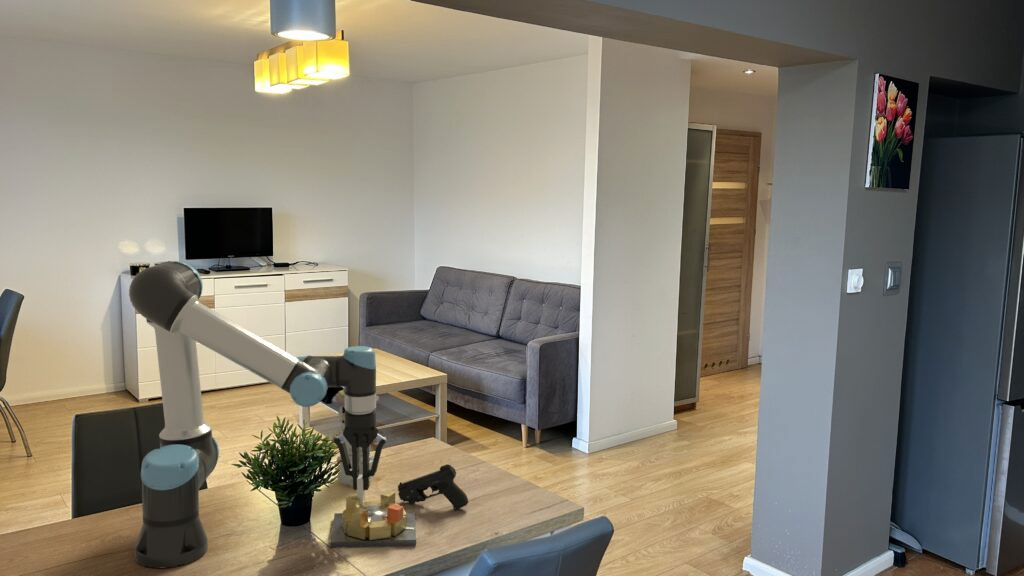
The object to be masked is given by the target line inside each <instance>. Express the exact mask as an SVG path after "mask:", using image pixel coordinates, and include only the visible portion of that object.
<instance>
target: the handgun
mask: <svg viewBox="0 0 1024 576" xmlns="http://www.w3.org/2000/svg"><path fill="white" fill-rule="evenodd" d="M456 476H457V472H456V469H455V468H454V466H452V465H451V464H448V463H447V464H445V465H441V466H440V468H439V469H438V470H437V471H434V472H430V473H428V474H425V475H422V476H418V477H416V478H413V479H410V480H408V481H405V482H399V484H398V485H397V489H398V490H397V491H398V492H397V494H398V497H399V499H400V500H401V501H403V502H408V504H409V505H410V506H411V505H414V504H415V503H420V502H425V501H426V499H429V498H432V497H435V496H436V497H437V496H438V495H443V496H444V497H445V498H446V499H447V500H448V501H449V502H450V503H451V506H452V508H453V509H454V511H457V510H459V509H461V508H463V507H466V506H467V505H468V504H469V499H468V496H467V494H466V493H465V491H464V490H462V489H461V488H460V487H459V486H458V484H457V483H455V482H454V480H455V478H456ZM429 488H430V489H431V492H432V493H431V494H429V495H427V494H425V491H426V490H428V489H429ZM437 491H438V492H437ZM434 492H436V493H434Z"/></svg>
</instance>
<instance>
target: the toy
mask: <svg viewBox="0 0 1024 576" xmlns="http://www.w3.org/2000/svg"><path fill="white" fill-rule="evenodd" d="M380 401H381V396H379V395H377V394H376V405H377V404H380ZM331 404H332V405H336V406H339V407H338V408H339V410H338V412H337V415H339V417H338V420H339V421H338V422H339V423H340V428H341V430H340V431H338V433H336V434H335V435H334V436H332V438H331V439H330V440H331V441H332V442H333V443H335V442H334V439H335V438H336V436H337V435H341V434H343V431H344V429H345V412H346V410H345V388H344V387H342V390H339V391H338V393H336V394H335V395H334V396H333V397H332V399H331ZM345 444H346V448H347V452H348V455H349V459H350V463H351V467H352V446H351V445H350V444H349V442H348V441H347V440H346V438H345ZM377 445H378V444H377V443H376V439H374V441H373V442H372V443H371V445H370V448H373V451H374V452H375V451H376V448H377ZM340 459H341V456H340V454H339V455H338V456H337V458H336V460H335V462H334V464H335V463H336V462H338V461H339V460H340ZM373 459H374V456H373V455H372V454H371V452H370V451H369V470H371V467H372V463H373ZM337 469H340V470H341V471H340V472H339V473H338V475H337V477H336V479H338V481H339V483H341V485H345V486H349V487H353V477H352V476H349V475H348V476H347V475H346V474H345V471H344V467H343V463H342V462H341V463H340V465H339V466H338V467H337V468H335V467H334V471H335V470H337ZM359 471H360V473H359V475H363V459H362V447H359ZM373 477H374V476H370V477H369V481H370V480H372V479H373Z"/></svg>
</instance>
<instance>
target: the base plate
mask: <svg viewBox="0 0 1024 576" xmlns="http://www.w3.org/2000/svg"><path fill="white" fill-rule="evenodd" d="M363 509H367V510H368V522H377V521H385V520H387V507H385V506H380V505H371V506H366V507H363ZM405 512H406V514H407V526H406V528H405V529H404V530H402V531H401V532H400V533H398V534H397V535H395V536H392V535H391V537H390V538H382V539H374V540H369V537H368V538H367V539H365V540H364V539H360V538H356V537H352V536H349V535H347V533H344V530H343V527H342V513H343V512H335V513H334V516H333V521H332V528H331V533H330V539H329V549H352V548H354V549H355V548H357V549H358V548H380V547H381V548H384V547H385V548H386V547H389V548H390V547H412V546H413V547H415V546H417V532H416V530H417V529H416V517H415V511H413V510H412V511H410V510H409V511H407V510H405Z"/></svg>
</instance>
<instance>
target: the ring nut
mask: <svg viewBox="0 0 1024 576" xmlns="http://www.w3.org/2000/svg"><path fill="white" fill-rule="evenodd" d="M345 498H346V499H345V509H343V510H342V512H341V513H342V527H343V530H344V533H347V535H349V536H352V537H356V538H360V539H364V540H365V539H367V538H368V537H369V540H374V539H382V538H390V537H391V535H392V536H395V535H397V534H398V533H400V532H401V531H402V530H404V529H405V528H406V526H407V514H406V512H405V511H406V510H405V509H404V508H405V507H404V506H403V505H400V504H399V503H398V504H397V503H396V491H391V490H386V491H384V492H382V493H381V494H380V501H379V500H371V501H370V500H369V501H364V503H363V504H360V498H357V494H354V493H353V494H352V493H351V494H350V495H348V496H346V497H345ZM371 505H380V506H385V507H387V520H385V521H377V522H368V510H367V509H363V507H366V506H371Z"/></svg>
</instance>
